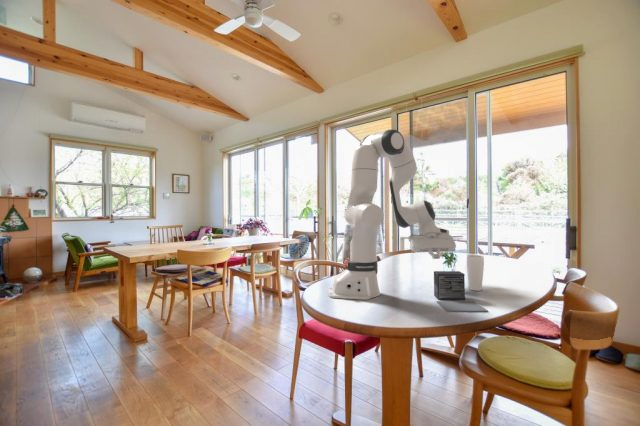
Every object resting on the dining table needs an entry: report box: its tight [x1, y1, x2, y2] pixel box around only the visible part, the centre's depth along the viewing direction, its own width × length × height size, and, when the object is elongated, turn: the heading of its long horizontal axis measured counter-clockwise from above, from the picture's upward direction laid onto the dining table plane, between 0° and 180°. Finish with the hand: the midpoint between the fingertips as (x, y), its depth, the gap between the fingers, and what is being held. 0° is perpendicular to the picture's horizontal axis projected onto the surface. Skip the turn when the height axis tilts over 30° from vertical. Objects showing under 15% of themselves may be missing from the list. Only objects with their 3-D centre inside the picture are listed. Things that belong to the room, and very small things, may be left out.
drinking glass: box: [466, 254, 485, 292], centre depth 135 cm, size 7×7×15 cm
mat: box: [436, 300, 489, 313], centre depth 112 cm, size 14×11×1 cm
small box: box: [433, 270, 466, 301], centre depth 123 cm, size 11×6×10 cm, turn 84°
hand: (436, 258), depth 138 cm, fingers closed
